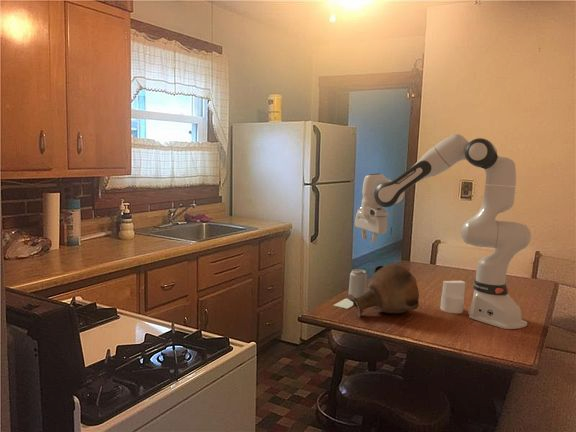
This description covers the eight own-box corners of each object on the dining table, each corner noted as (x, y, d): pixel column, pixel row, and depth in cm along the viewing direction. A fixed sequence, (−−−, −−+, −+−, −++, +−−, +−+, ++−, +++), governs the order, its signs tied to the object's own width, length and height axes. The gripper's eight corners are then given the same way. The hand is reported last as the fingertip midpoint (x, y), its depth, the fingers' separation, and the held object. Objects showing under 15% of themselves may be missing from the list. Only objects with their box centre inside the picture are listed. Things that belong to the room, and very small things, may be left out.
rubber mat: (345, 299, 216) (345, 298, 216) (359, 302, 213) (359, 301, 213) (333, 306, 206) (333, 305, 206) (347, 309, 203) (347, 308, 203)
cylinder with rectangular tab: (448, 313, 204) (451, 285, 202) (436, 306, 212) (438, 279, 211) (467, 312, 206) (470, 284, 205) (454, 306, 215) (457, 278, 213)
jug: (407, 304, 214) (344, 321, 204) (399, 259, 214) (335, 273, 204) (435, 310, 194) (367, 328, 185) (426, 260, 194) (358, 276, 185)
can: (366, 300, 216) (368, 273, 214) (349, 299, 216) (351, 272, 215) (364, 295, 224) (366, 269, 222) (347, 294, 224) (349, 268, 222)
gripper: (352, 206, 230) (350, 236, 232) (378, 213, 212) (376, 245, 214) (364, 206, 233) (362, 236, 235) (390, 212, 215) (388, 244, 217)
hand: (368, 240), depth 224 cm, fingers open, 5 cm apart
